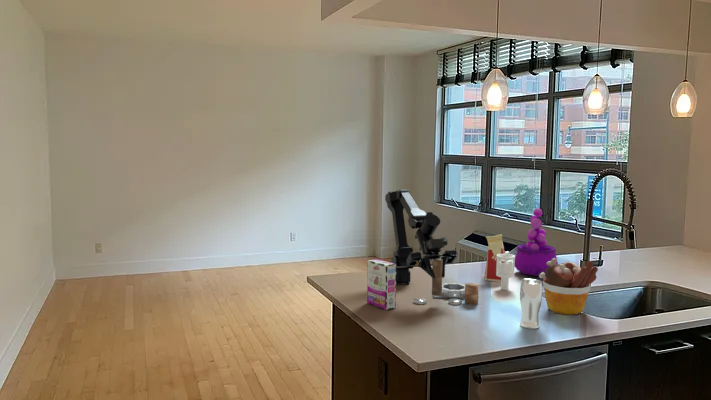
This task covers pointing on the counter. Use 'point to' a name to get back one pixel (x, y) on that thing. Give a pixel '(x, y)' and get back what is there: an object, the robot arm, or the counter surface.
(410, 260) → the robot arm
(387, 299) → the candy bar box
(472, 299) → the cherry stub
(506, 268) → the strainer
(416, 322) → the counter surface
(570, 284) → the bucket of meat
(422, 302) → the disc
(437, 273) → the walnut peg
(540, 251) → the decorative plant
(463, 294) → the octagonal socket plate
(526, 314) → the beer glass
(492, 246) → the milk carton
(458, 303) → the disc
